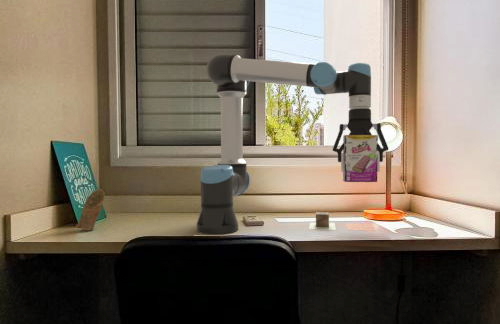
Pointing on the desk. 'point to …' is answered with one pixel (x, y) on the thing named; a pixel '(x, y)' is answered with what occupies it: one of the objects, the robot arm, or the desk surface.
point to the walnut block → (322, 219)
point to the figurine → (91, 210)
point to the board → (350, 227)
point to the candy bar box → (360, 158)
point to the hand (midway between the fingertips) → (359, 171)
